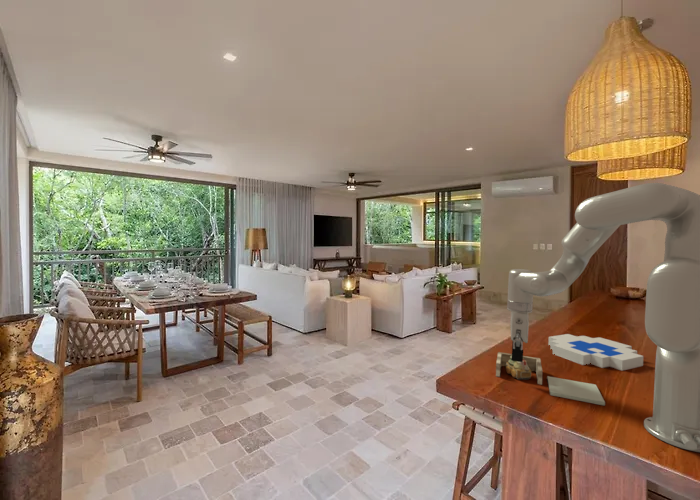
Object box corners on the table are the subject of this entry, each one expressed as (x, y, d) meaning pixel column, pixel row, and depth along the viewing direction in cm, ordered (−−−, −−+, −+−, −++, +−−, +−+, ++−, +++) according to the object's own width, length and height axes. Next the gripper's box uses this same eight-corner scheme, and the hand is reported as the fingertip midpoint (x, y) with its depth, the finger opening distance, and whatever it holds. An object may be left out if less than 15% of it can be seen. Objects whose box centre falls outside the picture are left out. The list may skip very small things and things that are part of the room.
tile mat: (604, 405, 91) (604, 402, 91) (550, 395, 97) (550, 391, 97) (595, 387, 101) (595, 384, 101) (547, 379, 107) (547, 376, 107)
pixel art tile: (656, 353, 121) (607, 363, 111) (656, 363, 121) (607, 375, 112) (580, 332, 147) (535, 338, 138) (580, 340, 148) (534, 348, 138)
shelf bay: (541, 384, 103) (542, 370, 103) (495, 376, 110) (496, 363, 109) (539, 371, 114) (540, 358, 114) (497, 363, 120) (498, 351, 120)
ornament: (535, 380, 107) (535, 350, 106) (518, 382, 105) (519, 351, 105) (517, 370, 115) (518, 342, 114) (502, 371, 113) (503, 343, 113)
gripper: (533, 313, 100) (530, 367, 101) (531, 302, 115) (528, 349, 116) (506, 310, 103) (503, 362, 104) (508, 299, 118) (505, 345, 120)
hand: (517, 355), depth 110 cm, fingers open, 9 cm apart
